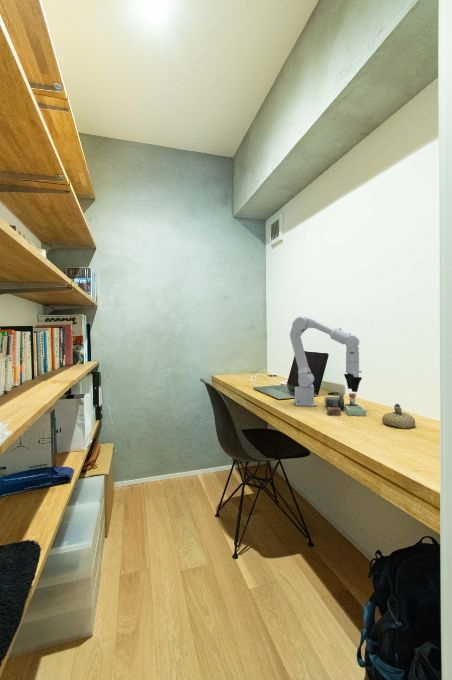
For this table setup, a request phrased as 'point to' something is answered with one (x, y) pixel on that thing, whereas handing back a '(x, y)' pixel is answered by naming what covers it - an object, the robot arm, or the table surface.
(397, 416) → the acorn cap
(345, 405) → the grey square frame
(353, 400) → the pin
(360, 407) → the tray
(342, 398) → the cart
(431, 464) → the table surface
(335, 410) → the brown rectangular block
